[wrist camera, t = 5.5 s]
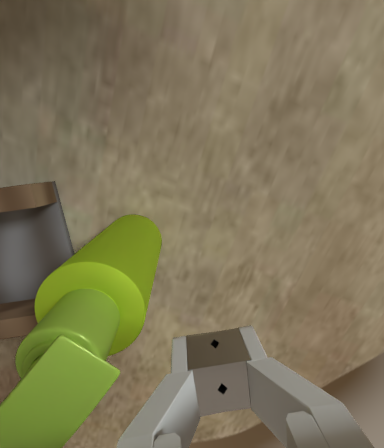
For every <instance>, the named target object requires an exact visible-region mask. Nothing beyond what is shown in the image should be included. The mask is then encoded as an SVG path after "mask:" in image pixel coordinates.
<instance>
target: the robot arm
mask: <svg viewBox="0 0 384 448" xmlns="http://www.w3.org/2000/svg"><path fill="white" fill-rule="evenodd" d="M248 408H251V410H252V411H253V412H254V413H255V414H256V415H257V416H258V417H259V418H260V419H261V421H262V422H263V423H264V424H265V425H266V426H267V427H268V428H269V429H270V430H271V432H273V434H274V435H275V436H276V437H277V438H278V439H279V440H280V442H281V443H282V444H283V445H284V446H285V447H286V448H374V447H373V445H372V444H371V442H370V441H369V439H368V438H367V437H366V435H365V434H364V433H363V431H362V429H361V428H360V427H359V425H358V424H357V422H356V421H355V420H354V418H353V417H352V415H351V414H350V412H349V411H348V410H347V408H346V407H345V405H344V404H343V403H342V402H340V401H339V400H337V399H335V398H334V397H333V396H331V395H329V394H328V393H326V392H325V391H323V390H322V389H320V388H319V387H317V386H316V385H314V384H313V383H311V382H309V381H308V380H306V379H305V378H303V377H302V376H300V375H299V374H297V373H295V372H294V371H292V370H291V369H289V368H288V367H286V366H285V365H283V364H282V363H280V362H278V361H277V360H275V359H274V358H272V357H270V358H268V357H267V355H266V353H265V351H264V349H263V347H262V345H261V343H260V341H259V339H258V337H257V335H256V332H255V330H254V328H253V326H251V325H249V326H244V327H238V328H235V329H229V330H223V331H217V332H209V333H202V334H194V335H187V336H181V337H174V338H173V339H172V354H171V374H166V376H165V377H164V379H163V380H162V381H161V383H160V384H159V385H158V387H157V388H156V390H155V391H154V392H153V394H152V395H151V396H150V398H149V399H148V400H147V402H146V403H145V405H144V406H143V407H142V409H141V410H140V411H139V413H138V414H137V415H136V417H135V418H134V420H133V421H132V422H131V424H130V425H129V426H128V428H127V429H126V430H125V432H124V433H123V435H122V436H121V437H120V439H119V440H118V444H117V448H189V446H190V443H191V441H192V438H193V436H194V433H195V431H196V428H197V426H198V423H199V421H200V417H201V416H206V415H211V414H216V413H221V412H225V411H233V410H241V409H248Z"/></svg>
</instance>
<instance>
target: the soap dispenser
mask: <svg viewBox="0 0 384 448" xmlns="http://www.w3.org/2000/svg"><path fill="white" fill-rule="evenodd" d="M161 244H162V239H161V234H160V232H159V230H158V228H157V226H156V225H155V224H154V223H153V222H152V221H151V220H149V219H148V218H146V217H143V216H140V215H126V216H123V217H121V218H119V219H117V220H116V221H115V222H113V223H112V224H111V225H110V226H109V227H107V228H106V229H105V230H104V231H102V232H101V233H100V234H99V235H98V236H96V237H95V238H94V239H93V240H91V241H90V242H89V243H88V244H87V245H85V246H84V247H83V248H82V249H80V250H79V251H78V252H77V253H76V254H74V255H73V256H72V257H71V258H69V259H68V260H67V261H66V262H65V263H63V264H62V265H61V266H60V267H58V268H57V269H56V270H55V271H54V272H52V273H51V274H50V275H49V276H48V277H47V278H46V279H45V280H44V281H43V283H42V284H41V286H40V288H39V290H38V292H37V295H36V298H35V316H36V320H37V323H38V324H37V325H36V326H35V327H34V328H33V329H32V331H31V332H30V333H29V334H28V335H27V336H26V337H25V338H24V340H23V341H22V342H21V344H20V346H19V347H18V350H17V352H16V357H15V364H16V369H17V372H18V374H19V376H20V378H21V380H20V381H19V382H18V384H17V385H16V386H15V388H14V389H13V390H12V391H11V392H10V394H9V395H8V396H7V397H6V398H5V399H4V401H3V402H2V403H1V404H0V448H62V447H63V446H64V445H65V443H66V442H67V441H68V440H69V439H70V438H71V436H72V435H73V434H74V433H75V432H76V430H77V429H78V428H79V427H80V426H81V424H82V423H83V422H84V421H85V419H86V418H87V417H88V416H89V414H90V413H91V412H92V411H93V409H94V408H95V407H96V405H97V404H98V403H99V402H100V400H101V399H102V398H103V396H104V395H105V394H106V392H107V391H108V390H109V388H110V387H111V386H112V384H113V383H114V382H115V380H116V379H117V378H118V376H119V374H120V370H119V369H117V368H116V367H114V366H113V365H111V364H109V363H108V362H106V359H107V356H110V355H113V354H116V353H118V352H120V351H122V350H124V349H125V348H127V347H128V346H129V345H130V344H131V343H133V341H134V340H135V339H136V338H137V337H138V335H139V334H140V332H141V330H142V327H143V325H144V321H145V316H146V312H147V307H148V303H149V299H150V294H151V290H152V285H153V281H154V276H155V272H156V267H157V263H158V258H159V254H160V249H161Z"/></svg>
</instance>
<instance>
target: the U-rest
mask: <svg viewBox="0 0 384 448" xmlns="http://www.w3.org/2000/svg"><path fill="white" fill-rule="evenodd" d="M73 255H74V251H73V247H72V244H71V240H70V236H69V232H68V229H67V225H66V221H65V217H64V214H63V210H62V206H61V202H60V199H59V195H58V191H57V187H56V184H55V181H54V182H44V183H34V184H25V185H18V186H11V187H3V188H0V339H6V338H12V337H19V336H26V335H28V334H29V333H30V332H31V331H32V329H33V328H34V327H35V326H36V325H37V324H38V323H37V320H36V316H35V298H36V295H37V292H38V290H39V288H40V286H41V284H42V283H43V281H44V280H45V279H46V278H47V277H48V276H49V275H50V274H51V273H52V272H54V271H55V270H56V269H57V268H58V267H60V266H61V265H62V264H63V263H65V262H66V261H67V260H68V259H69V258H71V257H72V256H73Z"/></svg>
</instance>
